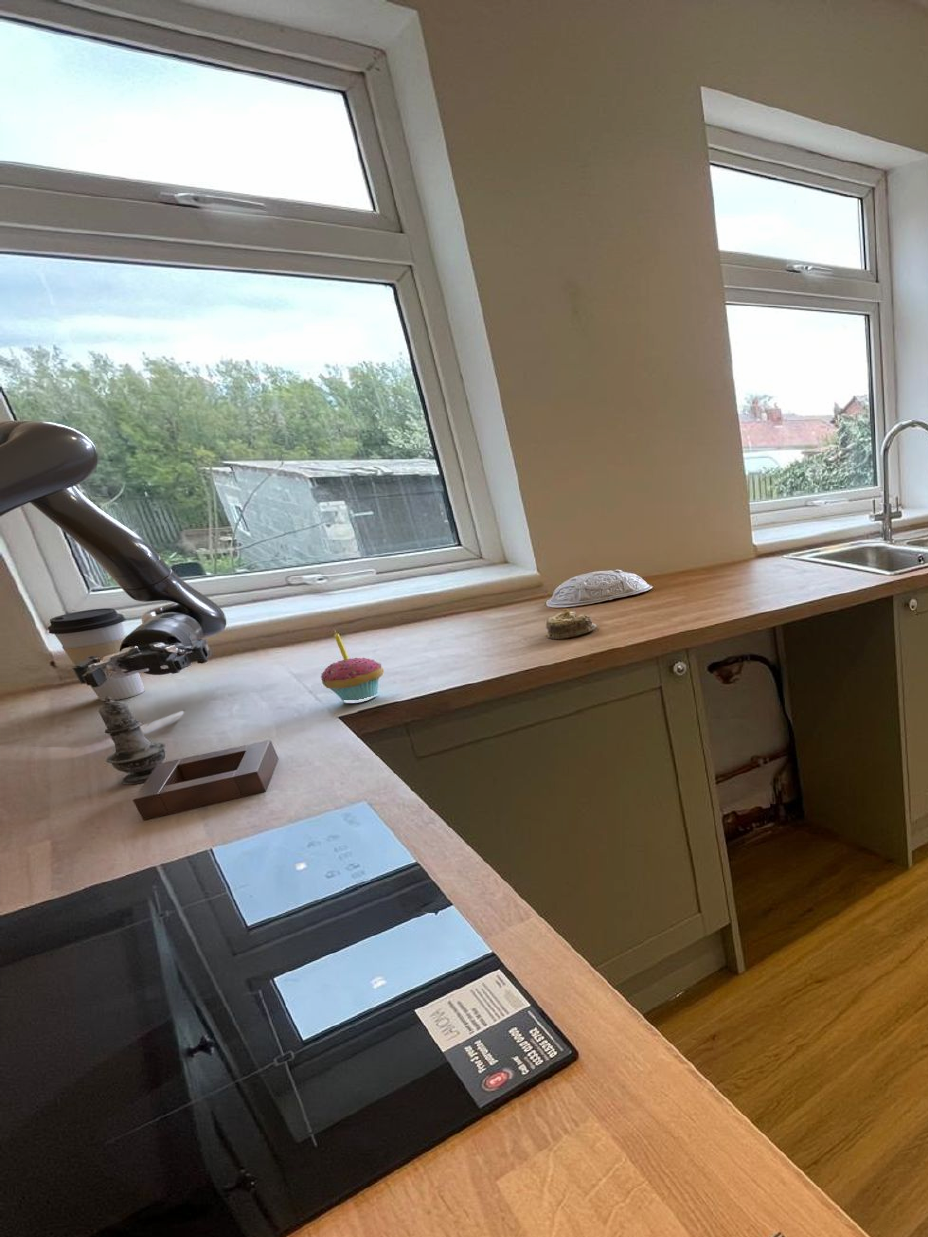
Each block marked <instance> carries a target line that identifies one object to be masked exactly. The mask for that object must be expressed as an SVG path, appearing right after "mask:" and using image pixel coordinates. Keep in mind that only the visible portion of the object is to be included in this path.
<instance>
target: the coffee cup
mask: <svg viewBox="0 0 928 1237" xmlns="http://www.w3.org/2000/svg"><path fill="white" fill-rule="evenodd" d="M125 621H127V618H126V617H125V616H124V615H123V614H122V613H118V612H117V611H116V609H115V608H113V607H112V608H109V607H106V608H94V609H87V610H80V611H74V612H69V613H65V614H61V615H57V616H54V617H52V618H50V619H49V623H50V625H49V626H48V627H47V630H48V633H49V634H51V635H54V636H55V637H56V639H57V640H58V641H59V643H60V644H61V648H62V649H63V651H64V652H65V653H66V655H67V657H68V658H69V660H70V661H71V663H72V664H73V665H74V666H76V665H77V664H79V663H80V662H81V661H83V660H84V659H86V658H88V657H90V656H97V657H98V658H99V660H100V661H101V660H102V659H103V657H105V656H108V655H111V654H115V653H118V652H120V646H121V643H122V641H123V640H124V638H125V637H126V636H128V634H126V631H125V628H124V625H123V623H124V622H125ZM121 670H122V672H124V671H127V670H124V669H121ZM105 671H106V673H105V675H106V674H108V673H109V671H108V669H107V668H105ZM89 686H90V688H91V689H92V691H93V692H94V693H95V695H96V696H97V698H98V699H99V701H101V702H107V700H105V699H106V696H108V697H110V698H112V699H111V700H112V701H120V700H124V699H128V698H132V697H135V696H138V695H141V694H142V693H144V692H145V686H144V685H143V681H142V678H141V675H140V673H136V674H133V675H130V676H127V677H124V678H111V679H108V680H107V681H106V682H104V683H103V684H102V685H101V686H100V687H94V688H93V687H92V686H91V685H89Z"/></svg>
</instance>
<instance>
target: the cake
mask: <svg viewBox="0 0 928 1237" xmlns="http://www.w3.org/2000/svg"><path fill="white" fill-rule="evenodd" d="M597 626H598V625H597V624H596V623H593V620H592V619H591V616H589V615H588V614H582V613H581V614H579V615H578V614H577V613H576V611H570V610H569V609H568V608H567V607H564V610H563V612H559V613H556V614H554V615H553V616H550V617H548V619H547V620H546V624H545V629H546V630H547V633H546V638H547V639H550V640H553V639H554V640H561V639H568V638H574V637H577V636H580V635H585V634H586V633H590V632H593V631H594V630H595V629H596V628H597Z"/></svg>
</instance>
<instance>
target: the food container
mask: <svg viewBox="0 0 928 1237" xmlns="http://www.w3.org/2000/svg"><path fill="white" fill-rule="evenodd" d="M651 589H653V585H651V584H648V582H647V581H645V580H644V579H643V578H642V577H641V576H639V575H637V574H635V573H633V572H627V571H623V570H621V569H614V570H597V571H593V572H588V573H583V574H579V575H576V576H573V577H570V578H568V579H567V580H565V581H563V582H562V583H561V584H560V585H559V586H557V587H556V588H555V589H554V591H553V594H552V596H551V598H550V599H548V600H547V601H546V602H545V603H546V604H545V605H546V607H548V608H554V609H559V608H562V609H563V608H570V607H571V608H572V607H579V606H585V605H593V604H595V603H601V602H605V601H612V600H614V599H619V598H624V597H628V596H632V595H633V596H634V595H638V594H641V593H644V592H647V591H649V590H651Z"/></svg>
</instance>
